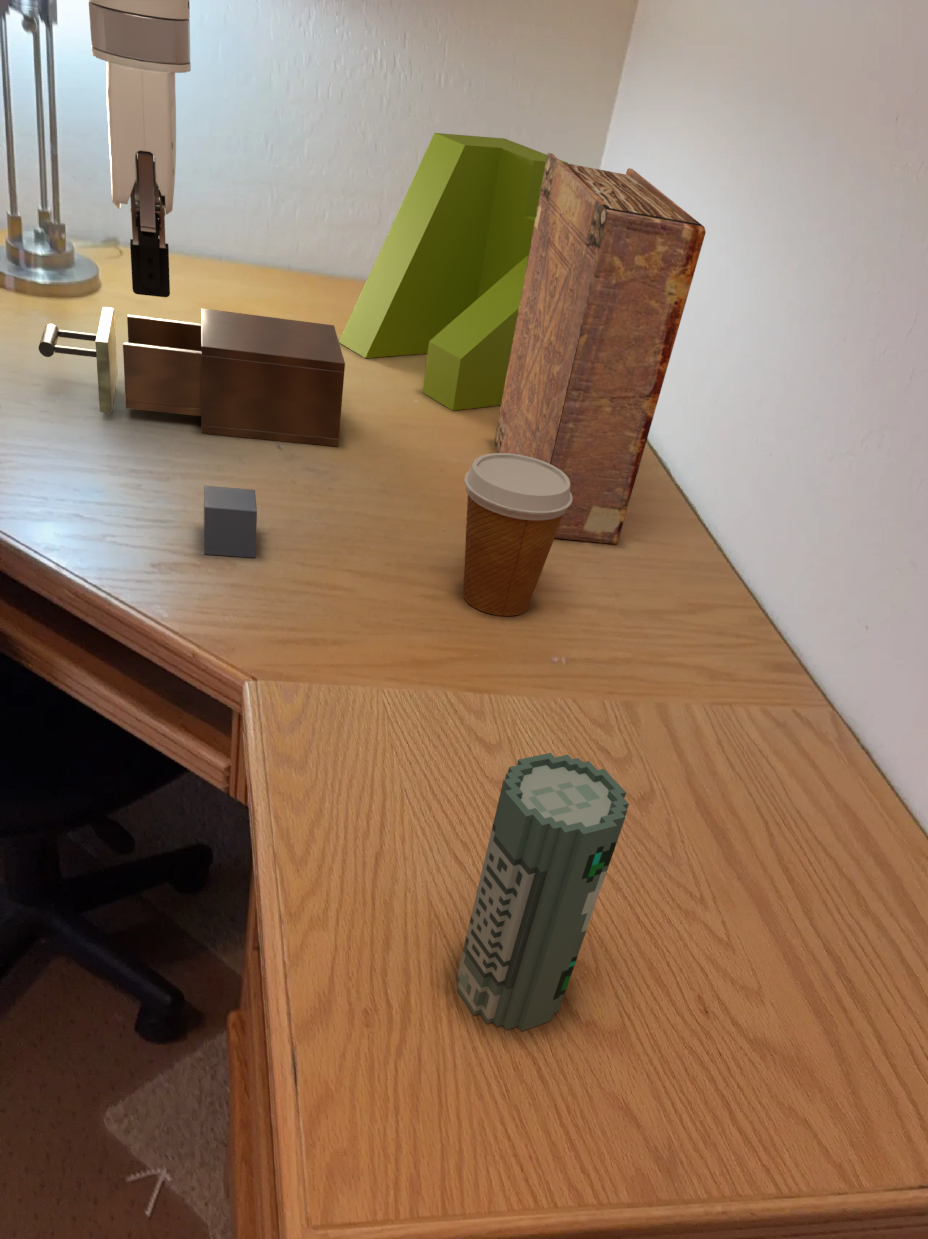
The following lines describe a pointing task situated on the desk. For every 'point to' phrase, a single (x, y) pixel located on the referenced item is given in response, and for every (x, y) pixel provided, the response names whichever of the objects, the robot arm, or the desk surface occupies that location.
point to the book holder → (454, 268)
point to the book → (596, 335)
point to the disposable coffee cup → (510, 529)
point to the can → (538, 887)
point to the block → (230, 521)
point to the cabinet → (270, 378)
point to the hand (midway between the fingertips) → (151, 292)
